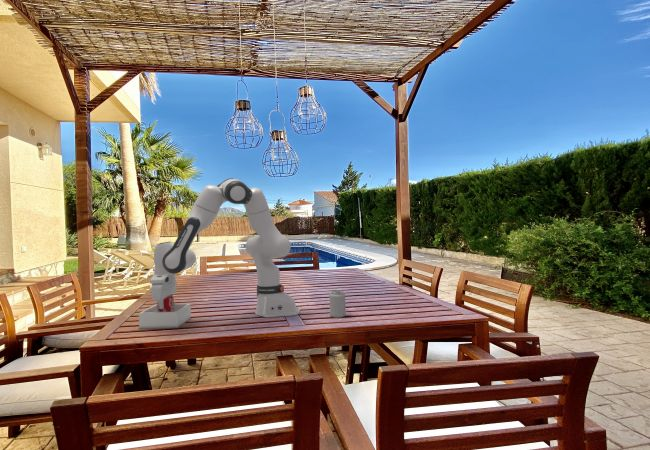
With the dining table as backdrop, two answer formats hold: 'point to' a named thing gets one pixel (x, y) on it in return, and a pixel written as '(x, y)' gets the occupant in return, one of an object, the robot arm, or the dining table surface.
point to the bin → (164, 317)
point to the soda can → (167, 304)
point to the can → (337, 304)
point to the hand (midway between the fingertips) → (165, 306)
